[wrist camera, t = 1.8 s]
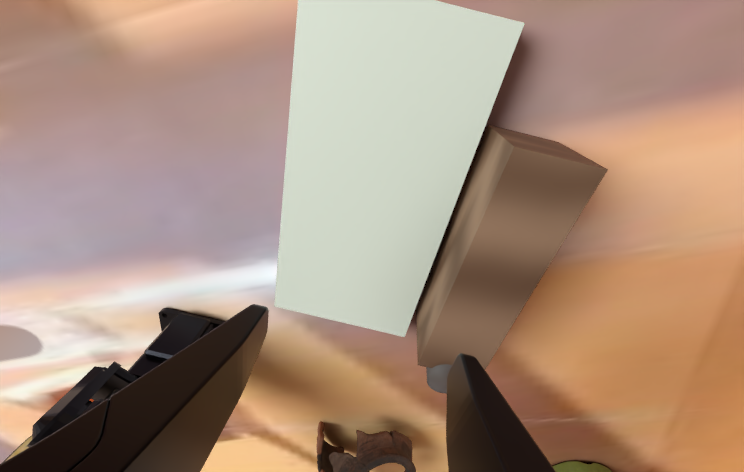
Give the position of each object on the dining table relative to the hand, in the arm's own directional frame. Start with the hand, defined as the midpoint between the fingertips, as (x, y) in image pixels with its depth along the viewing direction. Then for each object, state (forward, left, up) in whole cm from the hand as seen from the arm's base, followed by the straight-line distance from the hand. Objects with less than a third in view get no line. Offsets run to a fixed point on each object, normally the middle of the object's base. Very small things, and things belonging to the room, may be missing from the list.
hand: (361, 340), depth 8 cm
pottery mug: (-29, -4, -13) cm, 32 cm away
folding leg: (-3, -6, -13) cm, 15 cm away
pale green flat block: (-1, +1, -13) cm, 13 cm away
